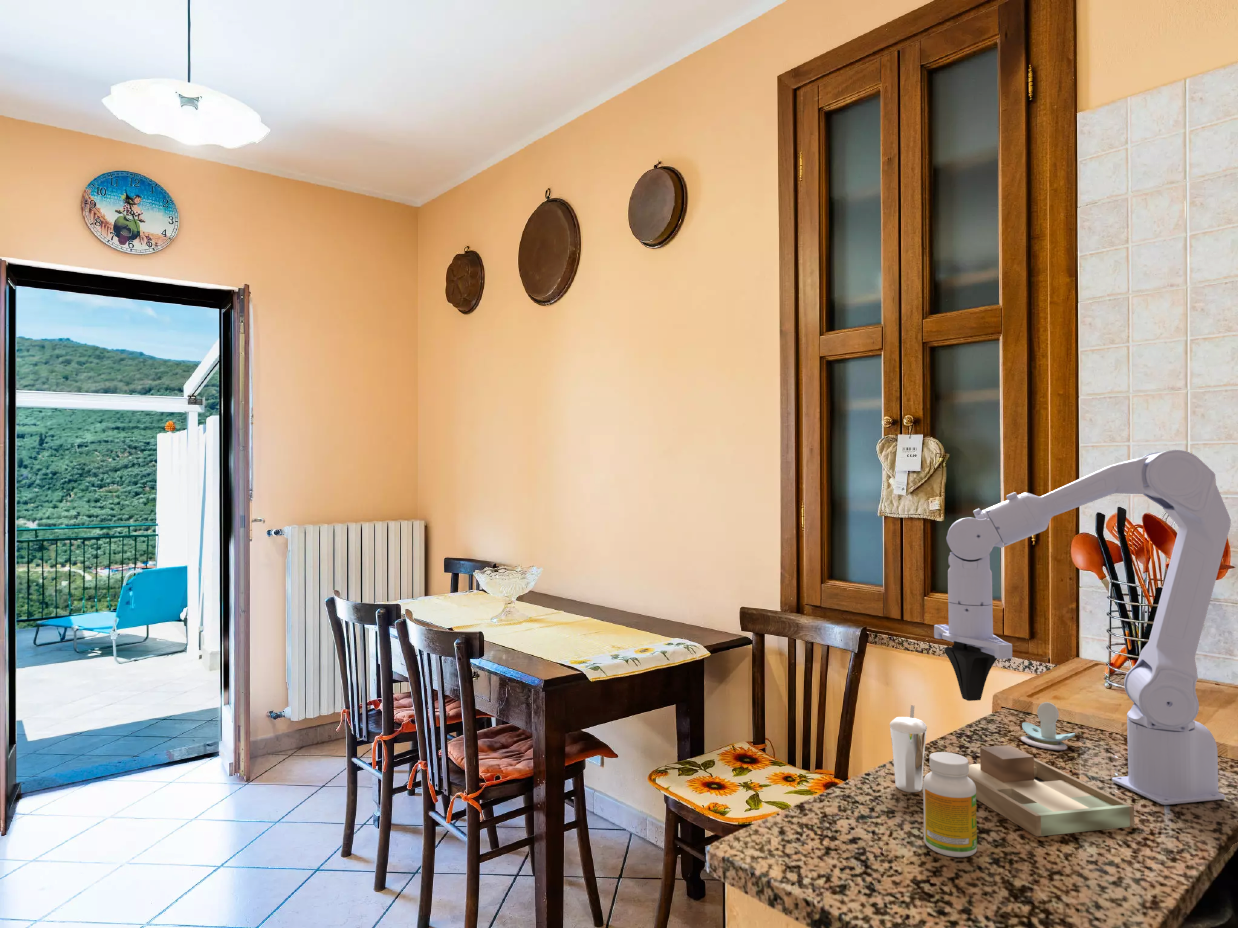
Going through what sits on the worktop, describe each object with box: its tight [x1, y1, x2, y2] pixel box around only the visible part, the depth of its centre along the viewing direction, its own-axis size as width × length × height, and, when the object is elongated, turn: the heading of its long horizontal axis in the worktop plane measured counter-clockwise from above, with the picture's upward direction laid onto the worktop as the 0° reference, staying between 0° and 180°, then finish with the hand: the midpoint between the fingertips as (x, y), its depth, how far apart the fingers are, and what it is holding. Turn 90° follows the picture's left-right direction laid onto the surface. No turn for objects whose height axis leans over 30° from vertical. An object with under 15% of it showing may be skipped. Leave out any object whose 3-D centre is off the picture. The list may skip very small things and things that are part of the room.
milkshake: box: [889, 704, 928, 793], centre depth 101 cm, size 4×5×10 cm
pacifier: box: [1020, 701, 1076, 751], centre depth 117 cm, size 7×6×6 cm
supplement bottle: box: [922, 751, 978, 858], centre depth 84 cm, size 5×5×10 cm
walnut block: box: [979, 744, 1035, 783], centre depth 101 cm, size 4×4×3 cm
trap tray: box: [967, 757, 1135, 837], centre depth 96 cm, size 13×18×2 cm
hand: (971, 699), depth 108 cm, fingers closed
